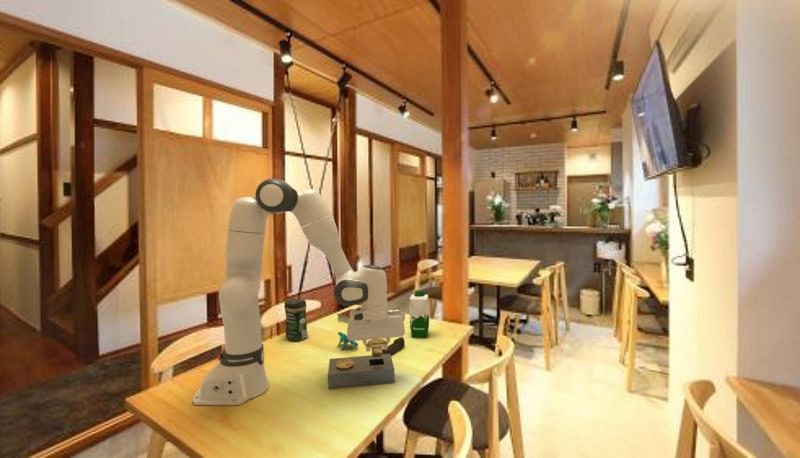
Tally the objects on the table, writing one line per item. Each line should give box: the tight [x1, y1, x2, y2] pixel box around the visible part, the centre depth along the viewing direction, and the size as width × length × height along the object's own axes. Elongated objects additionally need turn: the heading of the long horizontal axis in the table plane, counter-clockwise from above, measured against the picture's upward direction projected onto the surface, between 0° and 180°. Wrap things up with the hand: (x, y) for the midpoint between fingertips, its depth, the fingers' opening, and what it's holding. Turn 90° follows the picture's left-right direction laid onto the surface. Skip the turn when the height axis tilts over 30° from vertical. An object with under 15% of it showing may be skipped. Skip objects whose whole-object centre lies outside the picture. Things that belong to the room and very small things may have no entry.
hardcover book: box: [336, 308, 354, 324], centre depth 184 cm, size 12×21×4 cm, turn 55°
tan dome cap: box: [366, 338, 386, 357], centre depth 123 cm, size 6×6×5 cm
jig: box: [327, 354, 396, 390], centre depth 123 cm, size 22×12×6 cm, turn 98°
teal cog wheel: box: [336, 331, 359, 351], centre depth 149 cm, size 11×6×10 cm
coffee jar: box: [284, 297, 309, 342], centre depth 161 cm, size 10×8×19 cm
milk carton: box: [408, 289, 430, 339], centre depth 161 cm, size 9×9×20 cm
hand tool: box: [382, 336, 405, 356], centre depth 142 cm, size 19×4×5 cm, turn 142°
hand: (376, 350), depth 123 cm, fingers closed on tan dome cap, 4 cm apart
